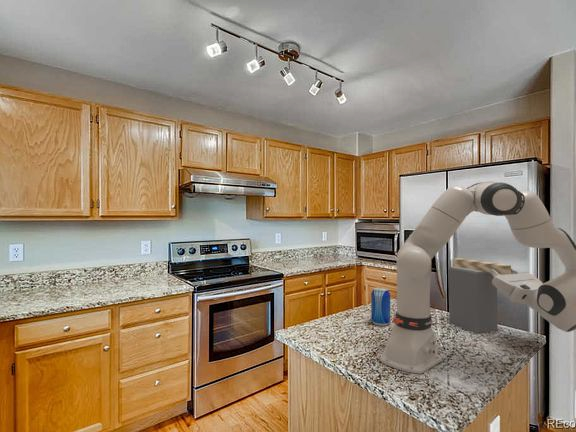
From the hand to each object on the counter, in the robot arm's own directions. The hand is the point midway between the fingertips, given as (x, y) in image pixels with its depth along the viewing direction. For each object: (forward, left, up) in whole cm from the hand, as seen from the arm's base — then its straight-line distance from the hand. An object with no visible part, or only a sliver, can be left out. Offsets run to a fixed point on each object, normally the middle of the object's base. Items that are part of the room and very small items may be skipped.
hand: (499, 269), depth 125 cm
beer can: (-17, +44, -28) cm, 55 cm away
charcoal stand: (+6, +11, -27) cm, 30 cm away
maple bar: (+4, +8, -1) cm, 9 cm away
